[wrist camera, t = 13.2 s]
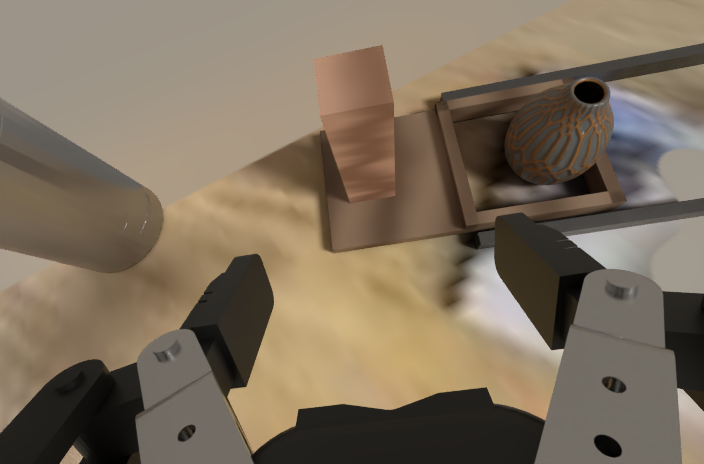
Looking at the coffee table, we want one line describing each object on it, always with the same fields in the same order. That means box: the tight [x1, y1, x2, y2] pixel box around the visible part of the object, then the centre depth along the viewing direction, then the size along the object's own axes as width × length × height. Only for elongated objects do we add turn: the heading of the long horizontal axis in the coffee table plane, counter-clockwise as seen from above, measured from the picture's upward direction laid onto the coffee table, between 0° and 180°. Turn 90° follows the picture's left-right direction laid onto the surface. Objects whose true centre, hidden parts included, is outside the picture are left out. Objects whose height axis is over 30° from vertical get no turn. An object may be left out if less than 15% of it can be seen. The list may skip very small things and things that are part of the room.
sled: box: [314, 45, 627, 253], centre depth 24 cm, size 23×12×13 cm, turn 97°
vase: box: [505, 77, 614, 185], centre depth 25 cm, size 7×7×9 cm
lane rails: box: [440, 43, 704, 249], centre depth 28 cm, size 24×15×2 cm, turn 97°
